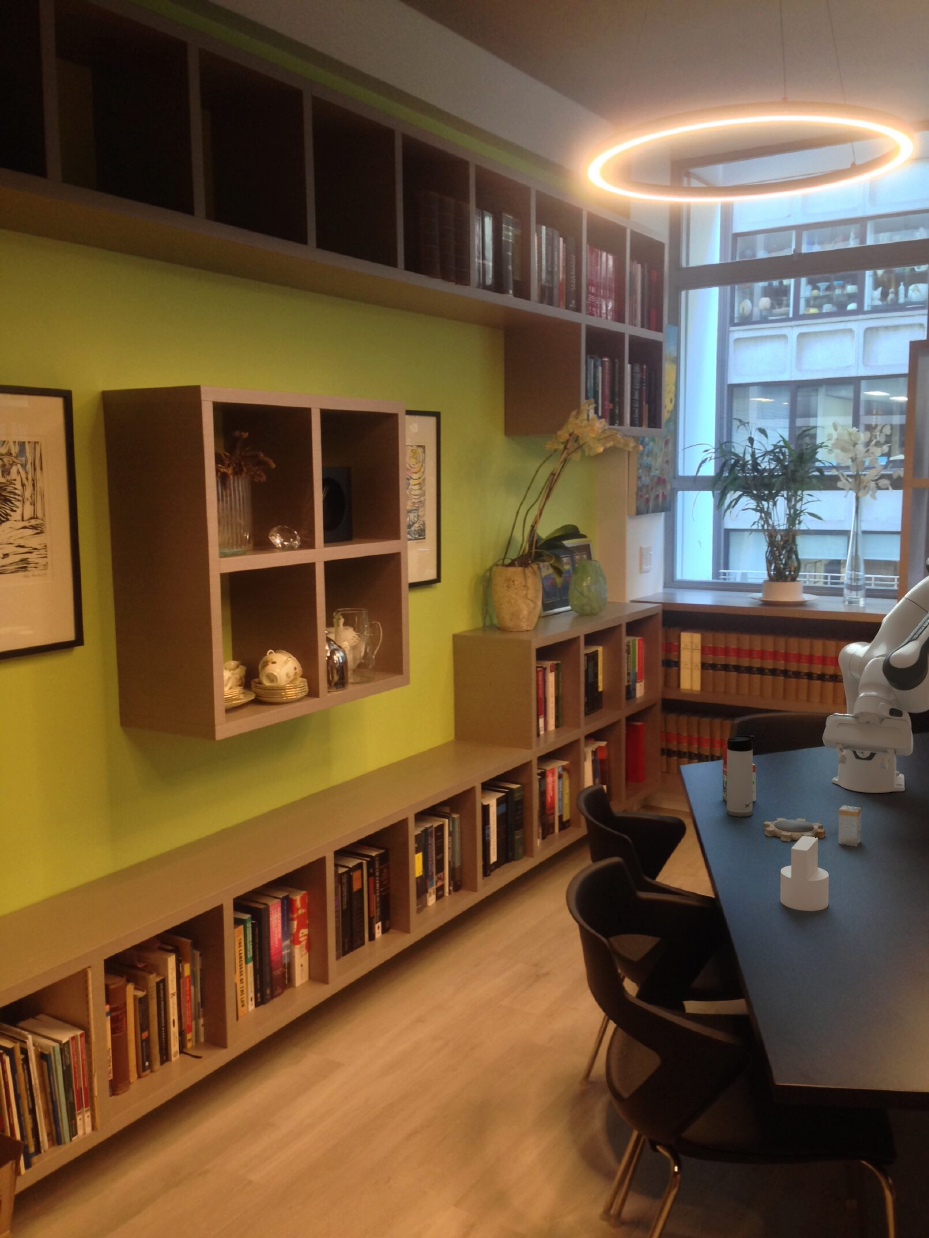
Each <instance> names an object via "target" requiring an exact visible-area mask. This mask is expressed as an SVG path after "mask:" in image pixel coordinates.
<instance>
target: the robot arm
mask: <svg viewBox="0 0 929 1238" xmlns="http://www.w3.org/2000/svg"><path fill="white" fill-rule="evenodd" d="M925 569H926V572H928V574H929V556H928V557H927V559H926V563H925ZM880 625H881V626H880V628H879V630H878V632H877V634H876V635H875V637H874V639H873V640H872V641H871V642H870V643H869V642H866V641H857V642H855V641H854V642H851V643H848V644H847V645H845V646H844V647H843V648H842V649H841V651H840V652H839V655H838V658H837V659H838V660H837V661H838V665H839V668H840V671H841V675H842V682H843V688H844V695H845V699H846V700H845V701H846V710H847V711H846V713H837V712H836V713H833V714H831V715H829V716H827V717H826V721H825V729H824V732H823V734H822V741H823V745H824V746H825V747H826V748H828V749H835V750H836V752H837V754H838V769H837V776H835V777H833V778H832V779H831V783H833V784H836V785H839V786H840V787H842V788H843V789H847V790H850V791H854V792H860V793H861V792H862V793H869V794H870V793H871V794H873V793H874V794H875V793H876V794H879V793H881V794H882V793H890V792H905V788H906V787H905V786H906V785H905V775H904V774H903V773H900V771H899V770H897V758H896V755H897V756H904V757H908V756H911V754H913V750H914V736H913V732H912V721H911V716H910V715H909V713H910V714H922V713H926V712H928V711H929V575H927V576H925V577H924V578H923V579H922V580H921V581H919V582H918V583H917V584H915V585H914V586H913V587H911V589H910V590H909V591H908V592H906V594H905V595H904V596H902V598H901V599H900V600H899V601H898V602H897V603H896V604H895V606H893V608H892V609H891V610H890V611H889V612H888V613H887V614H886V616H885V617H883V619H882V621H881V624H880Z"/></svg>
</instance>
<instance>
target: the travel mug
mask: <svg viewBox="0 0 929 1238" xmlns="http://www.w3.org/2000/svg"><path fill="white" fill-rule="evenodd" d="M753 740H755V736H754V735H749V734H746V735H745V734H744V735H743V734H742V735H741V734H740V735H733V736H730V737H728V739H727V743H726V744H727V745H726V746H727V802H726V813H727V814H728V815H729V816H733V817H736V816H737V817H738V818H740V817H741V818H745V817H750V816H752V815H753V802H754V801H753V764H754V763H753V762H754V760H753V756H754V755H753V754H754V753H753V751H754V749H753V745H754V744H753ZM737 817H736V818H737Z"/></svg>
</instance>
